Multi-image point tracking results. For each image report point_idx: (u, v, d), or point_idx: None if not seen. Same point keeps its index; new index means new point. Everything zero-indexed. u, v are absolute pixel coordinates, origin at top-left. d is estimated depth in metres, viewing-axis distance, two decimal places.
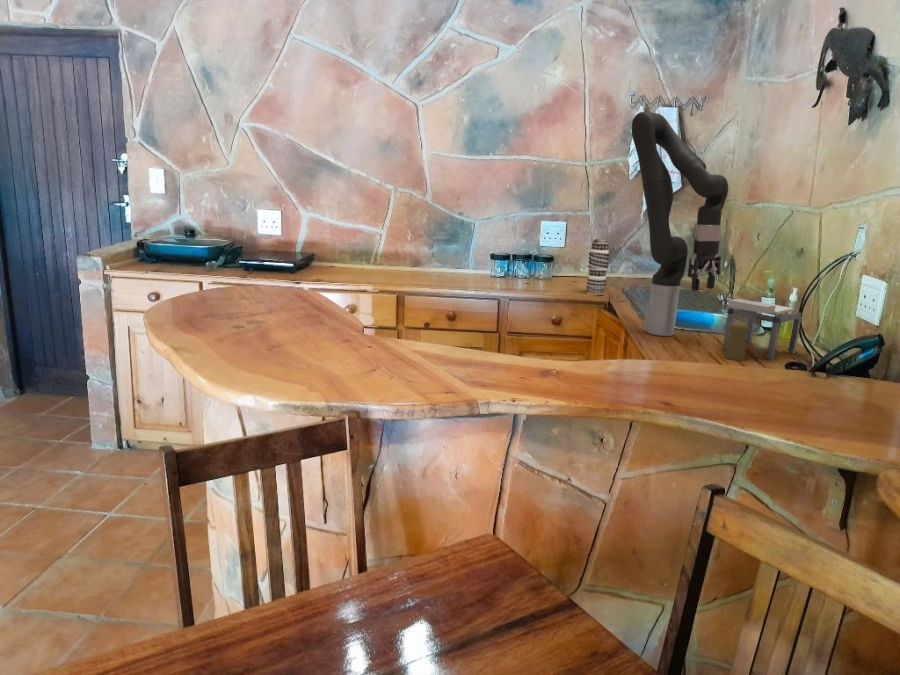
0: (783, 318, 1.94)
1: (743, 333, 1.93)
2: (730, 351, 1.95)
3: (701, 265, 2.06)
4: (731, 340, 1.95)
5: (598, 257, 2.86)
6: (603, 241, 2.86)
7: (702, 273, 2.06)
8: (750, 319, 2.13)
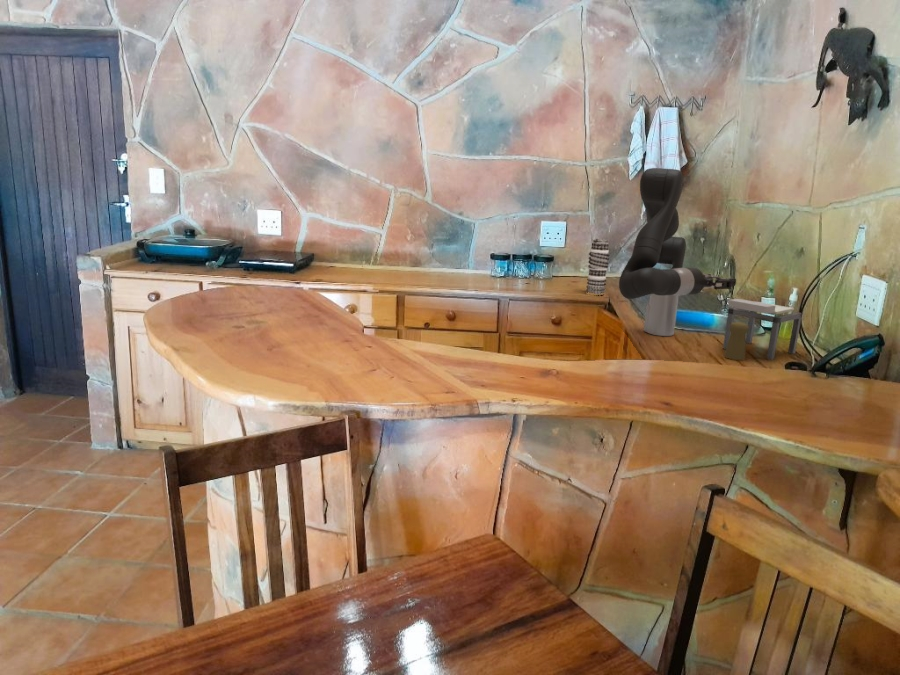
0: (783, 318, 1.94)
1: (743, 333, 1.93)
2: (730, 351, 1.95)
3: None
4: (731, 340, 1.95)
5: (598, 257, 2.86)
6: (603, 241, 2.86)
7: None
8: (750, 319, 2.13)
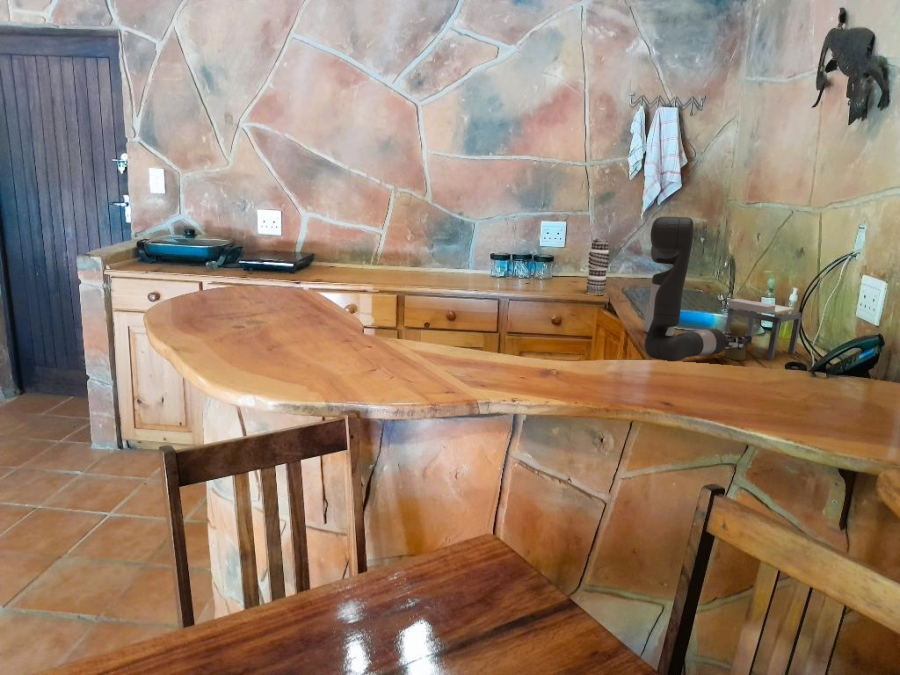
0: (783, 318, 1.94)
1: (743, 333, 1.93)
2: (730, 351, 1.95)
3: None
4: None
5: (598, 257, 2.86)
6: (603, 241, 2.86)
7: None
8: (750, 319, 2.13)
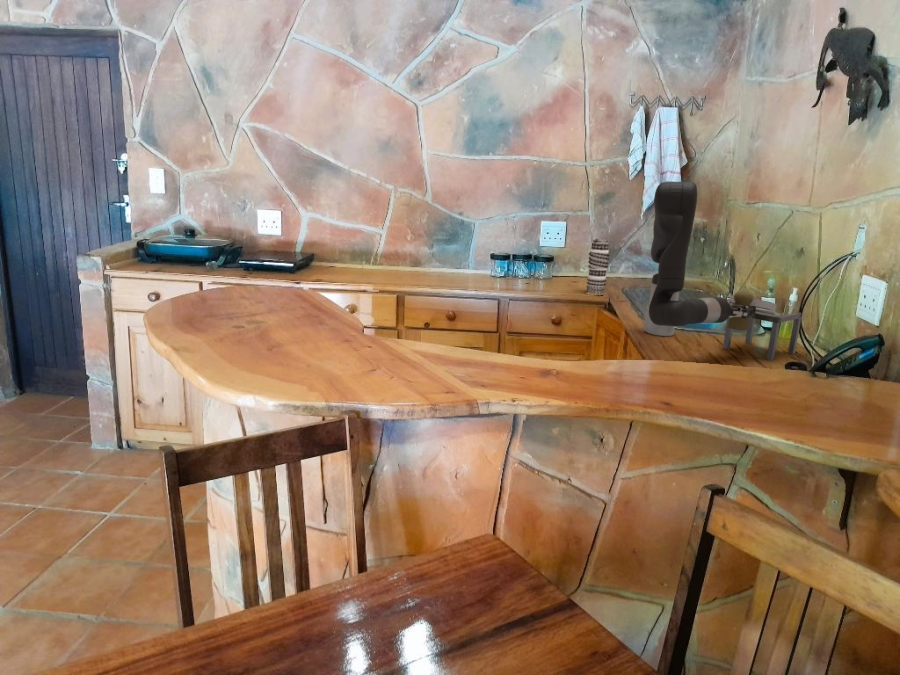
0: (783, 318, 1.94)
1: (747, 303, 1.91)
2: (734, 321, 1.93)
3: None
4: None
5: (598, 257, 2.86)
6: (603, 241, 2.86)
7: None
8: (750, 319, 2.13)
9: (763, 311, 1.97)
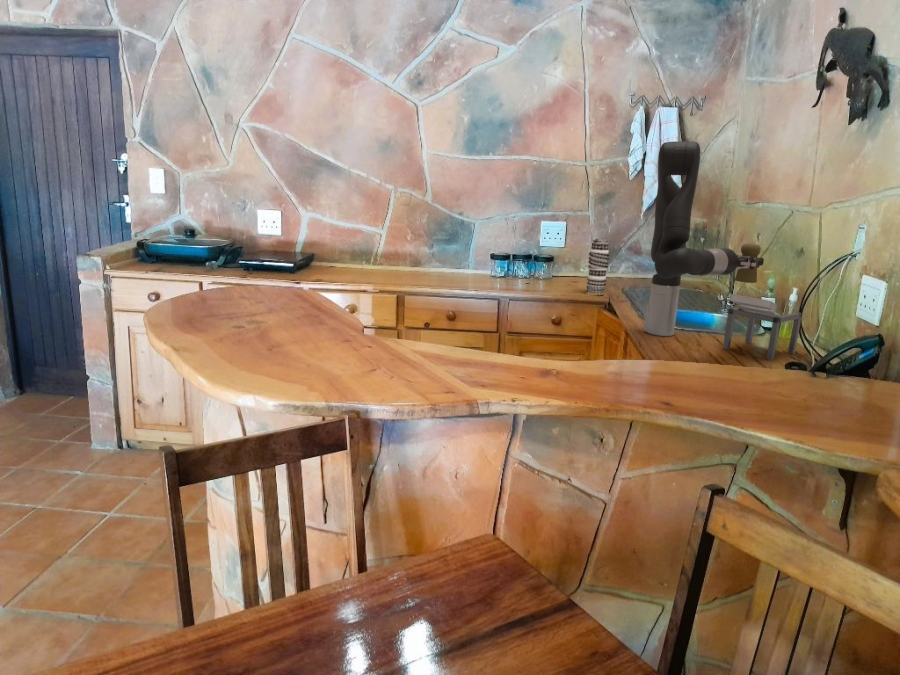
0: (783, 318, 1.94)
1: (755, 254, 1.87)
2: (741, 273, 1.89)
3: None
4: None
5: (598, 257, 2.86)
6: (603, 241, 2.86)
7: None
8: (750, 319, 2.13)
9: (763, 311, 1.97)
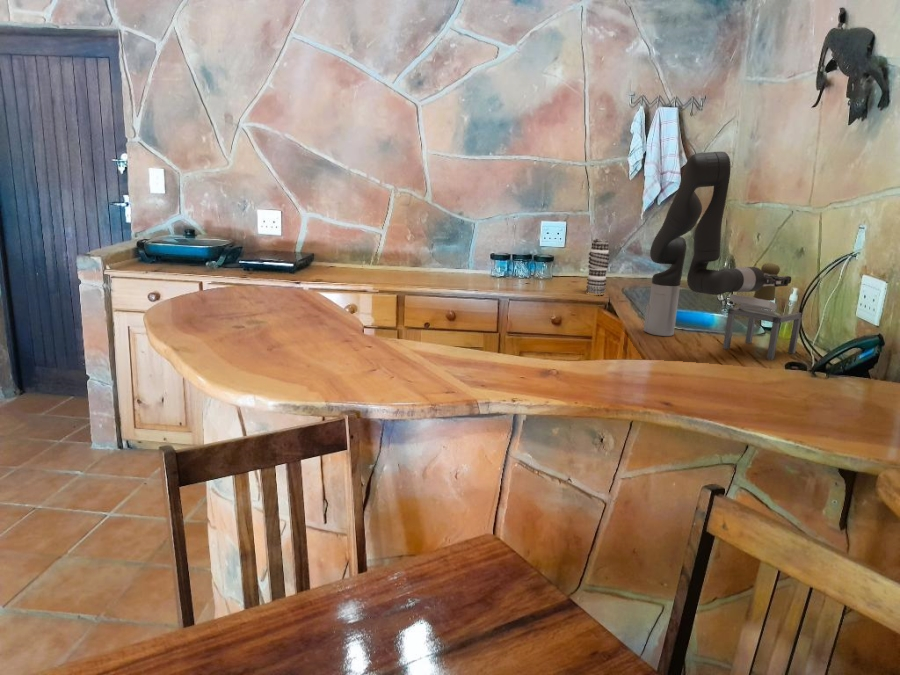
0: (783, 318, 1.94)
1: None
2: (760, 291, 2.03)
3: None
4: None
5: (598, 257, 2.86)
6: (603, 241, 2.86)
7: None
8: (750, 319, 2.13)
9: (763, 311, 1.97)
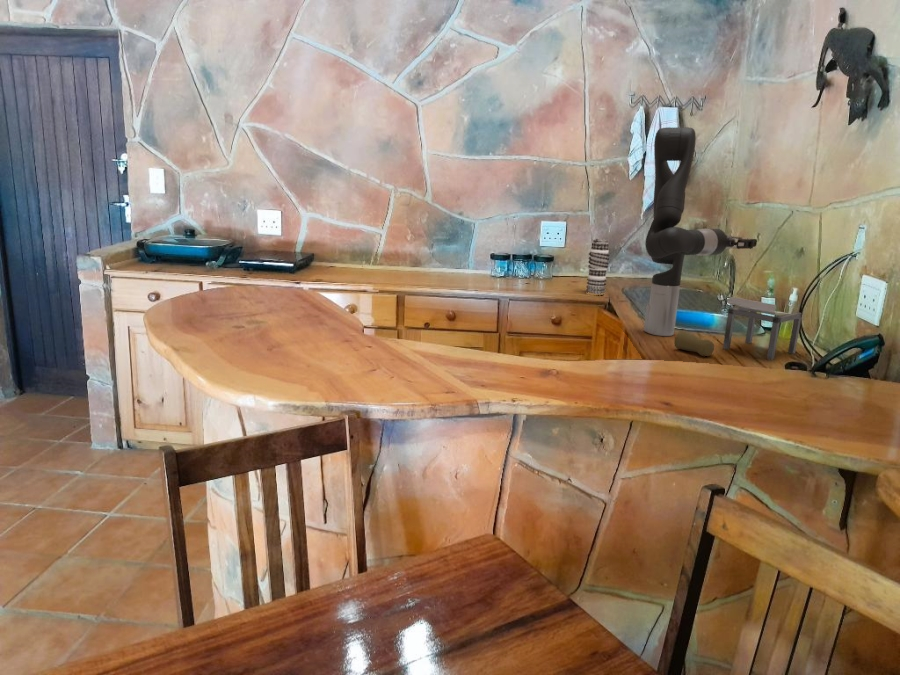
0: (783, 318, 1.94)
1: (697, 350, 1.96)
2: (684, 336, 2.00)
3: None
4: (694, 339, 1.98)
5: (598, 257, 2.86)
6: (603, 241, 2.86)
7: None
8: (750, 319, 2.13)
9: (763, 311, 1.97)
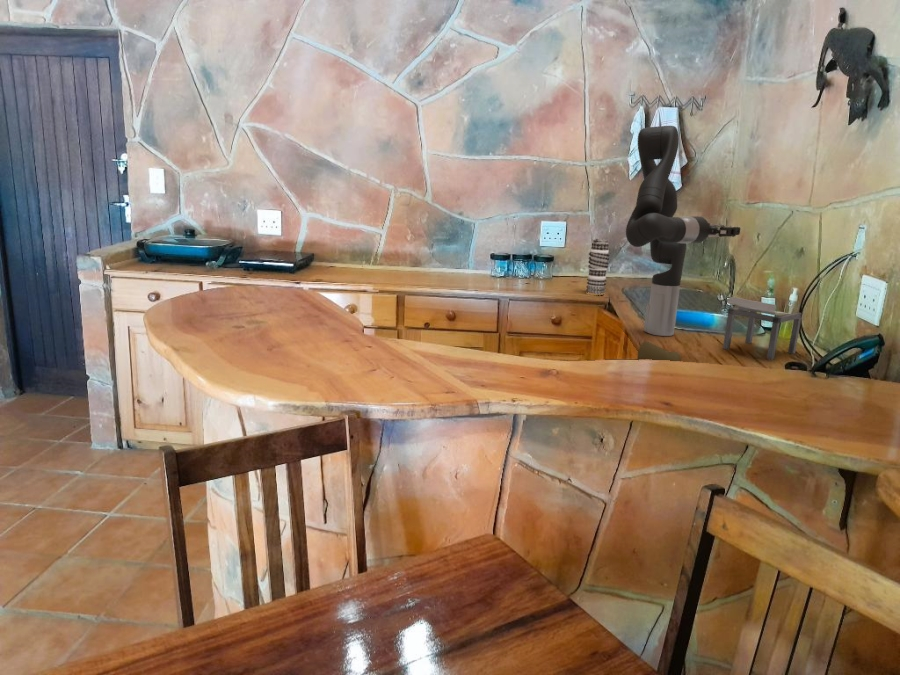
0: (783, 318, 1.94)
1: None
2: None
3: None
4: None
5: (598, 257, 2.86)
6: (603, 241, 2.86)
7: None
8: (750, 319, 2.13)
9: (763, 311, 1.97)
